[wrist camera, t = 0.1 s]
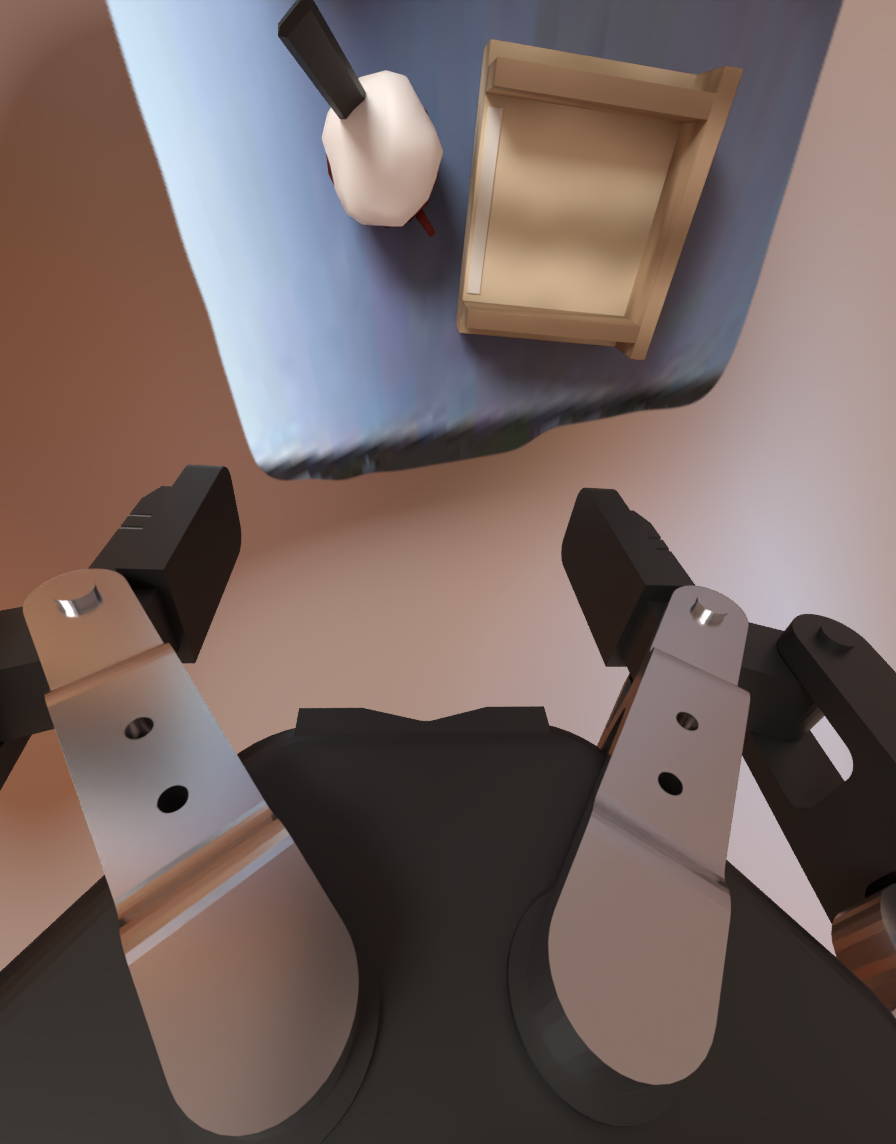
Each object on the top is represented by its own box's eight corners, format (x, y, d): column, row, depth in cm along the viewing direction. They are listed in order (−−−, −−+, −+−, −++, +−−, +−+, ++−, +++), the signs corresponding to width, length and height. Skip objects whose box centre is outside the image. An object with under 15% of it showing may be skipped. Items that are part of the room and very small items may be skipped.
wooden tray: (483, 48, 27) (501, 25, 23) (691, 84, 29) (743, 68, 24) (455, 323, 36) (464, 344, 31) (615, 338, 37) (644, 360, 33)
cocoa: (447, 223, 32) (481, 254, 23) (357, 253, 33) (357, 294, 24) (403, 13, 26) (427, -55, 17) (293, 53, 26) (259, 7, 17)
